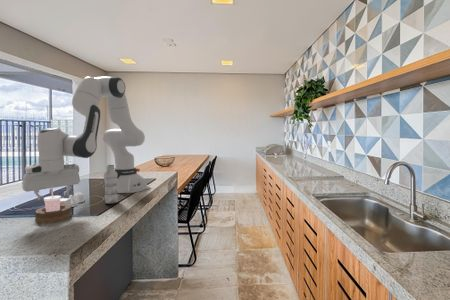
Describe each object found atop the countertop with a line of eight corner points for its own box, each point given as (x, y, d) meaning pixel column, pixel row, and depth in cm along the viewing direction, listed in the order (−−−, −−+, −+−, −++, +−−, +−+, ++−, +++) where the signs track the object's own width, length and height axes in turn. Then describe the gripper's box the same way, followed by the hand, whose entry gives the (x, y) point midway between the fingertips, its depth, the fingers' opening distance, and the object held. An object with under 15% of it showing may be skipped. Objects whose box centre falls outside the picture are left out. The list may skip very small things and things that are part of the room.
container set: (65, 212, 113) (65, 200, 113) (53, 212, 113) (53, 201, 113) (86, 200, 133) (85, 190, 133) (76, 200, 133) (75, 190, 132)
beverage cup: (47, 216, 107) (45, 184, 107) (63, 214, 110) (62, 183, 109) (42, 220, 102) (40, 187, 101) (59, 219, 104) (58, 186, 103)
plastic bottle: (113, 205, 123) (112, 166, 122) (101, 204, 125) (100, 165, 123) (121, 201, 130) (120, 164, 128) (109, 201, 131) (108, 164, 130)
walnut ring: (66, 211, 115) (65, 202, 114) (75, 217, 106) (74, 208, 106) (33, 218, 105) (32, 208, 105) (40, 225, 97) (39, 215, 97)
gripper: (76, 162, 114) (77, 191, 115) (20, 168, 99) (22, 201, 100) (81, 164, 110) (82, 194, 111) (23, 169, 95) (25, 204, 96)
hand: (53, 197), depth 105 cm, fingers open, 8 cm apart
